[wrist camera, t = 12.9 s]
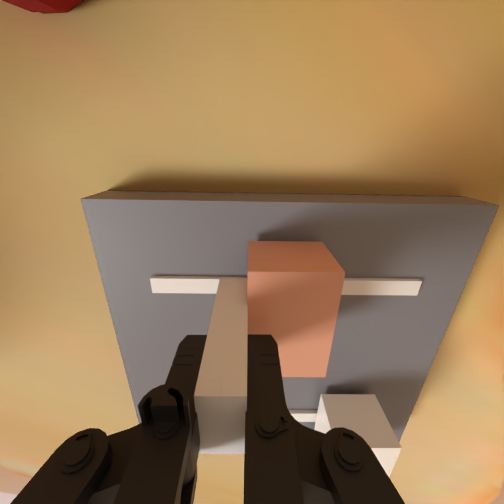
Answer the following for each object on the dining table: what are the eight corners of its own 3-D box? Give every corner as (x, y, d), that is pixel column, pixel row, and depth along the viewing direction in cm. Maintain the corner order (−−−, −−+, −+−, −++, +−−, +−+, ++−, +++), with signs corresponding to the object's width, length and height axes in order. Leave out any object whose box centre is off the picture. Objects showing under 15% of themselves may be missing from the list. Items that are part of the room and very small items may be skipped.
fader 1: (246, 329, 16) (246, 376, 12) (248, 240, 13) (247, 271, 10) (309, 329, 16) (325, 377, 12) (322, 241, 13) (345, 272, 10)
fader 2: (311, 443, 20) (323, 498, 17) (320, 394, 18) (336, 448, 15) (359, 443, 21) (379, 498, 17) (374, 394, 18) (401, 448, 15)
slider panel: (156, 421, 24) (144, 454, 21) (106, 190, 15) (76, 199, 12) (381, 421, 24) (397, 454, 22) (462, 196, 15) (504, 206, 13)
